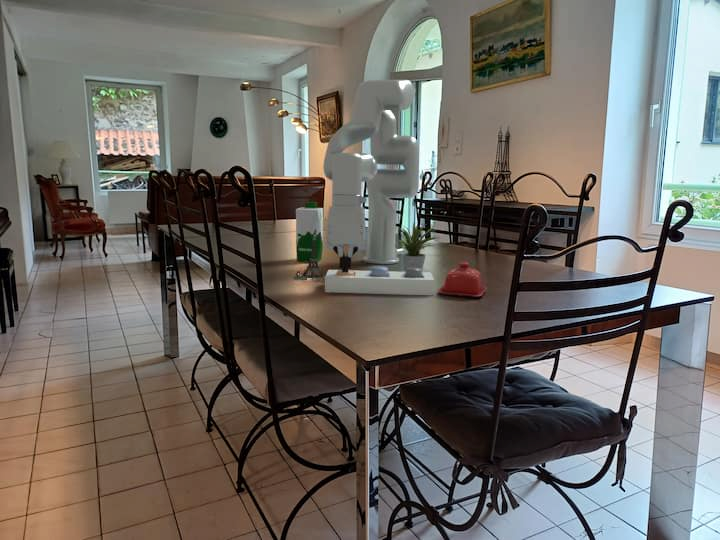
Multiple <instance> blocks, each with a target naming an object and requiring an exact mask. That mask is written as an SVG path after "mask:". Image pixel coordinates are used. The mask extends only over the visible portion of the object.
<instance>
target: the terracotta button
mask: <svg viewBox="0 0 720 540" xmlns="http://www.w3.org/2000/svg"><path fill="white" fill-rule="evenodd" d="M337 270H338V271H337V275H338V276H354V271H353V270H354V269H353V270H352V269H349V271H348V272H342V269H337Z"/></svg>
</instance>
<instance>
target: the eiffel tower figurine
mask: <svg viewBox="0 0 720 540" xmlns="http://www.w3.org/2000/svg"><path fill="white" fill-rule="evenodd" d="M312 239H313V242H312V253H311V259H310V262H308V265H307V266H306V269H305V270H304V273H300V271H301V270H297V272H296V273H295V275H294V277H293V280H294V281H298V280H307V278H312V280H315V279H314V278H316V280H317V281H315V282H320V280H318V279H321V278H325V276H326V275H325V274H324V272H323V271H322V270H321V266H319V264H318V262H317V259H316V254H315V237H314V233H313V237H312ZM309 272H310V274H307V273H309ZM316 272H318V273H319V274H317V273H316ZM298 273H300V275H301V276H300V275H298ZM315 282H314V283H315Z"/></svg>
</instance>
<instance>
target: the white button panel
mask: <svg viewBox="0 0 720 540" xmlns="http://www.w3.org/2000/svg"><path fill="white" fill-rule="evenodd" d="M338 270H339V269H328V270H327V272H326V275H325V277H324V292H325V293H336V294H337V293H339V294H374V295H375V294H376V295H377V294H380V295H404V296H405V295H411V296H415V295H416V296H434V295H435V282H436V281H435V279H434V276H433V274H432V273H431V272H429V271H428V272H427V271H426V272H425V271H422V278H410V277H405V272H404V271H391V270H388V277H374V276H371V270H356V269H355V270H354V269H353V271H354V276H338V275H337V271H338Z"/></svg>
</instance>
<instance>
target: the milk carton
mask: <svg viewBox="0 0 720 540" xmlns="http://www.w3.org/2000/svg"><path fill="white" fill-rule="evenodd" d="M313 233H314V237H315V254H316V259H317V263H318V262H320V261H322V258H323V245H324V244H323V243H324V208H323V207H318V202H317V201H305V202H304V207H298V208H295V245H296V246H295V249H296V250H295V252H296V262H297V263H310V259H311V253H312V242H313V239H312V237H313Z"/></svg>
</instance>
